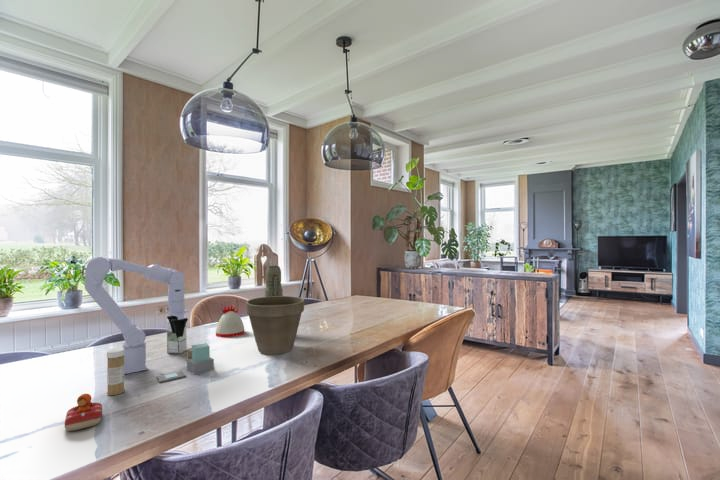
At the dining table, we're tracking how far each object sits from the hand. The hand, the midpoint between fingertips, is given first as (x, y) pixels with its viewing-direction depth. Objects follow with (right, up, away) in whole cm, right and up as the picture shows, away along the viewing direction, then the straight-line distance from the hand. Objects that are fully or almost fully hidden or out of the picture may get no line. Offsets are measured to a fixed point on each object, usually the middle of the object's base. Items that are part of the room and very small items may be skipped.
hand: (177, 334), depth 140 cm
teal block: (+14, -6, -10) cm, 18 cm away
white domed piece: (+5, -11, +42) cm, 44 cm away
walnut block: (+7, -10, -1) cm, 13 cm away
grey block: (+14, -10, -10) cm, 20 cm away
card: (+7, -10, -18) cm, 22 cm away
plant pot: (+36, -10, +13) cm, 40 cm away
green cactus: (+29, -11, +38) cm, 49 cm away
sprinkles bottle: (-4, -10, -30) cm, 32 cm away
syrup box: (-7, -11, +12) cm, 18 cm away
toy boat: (+1, -10, -49) cm, 50 cm away
